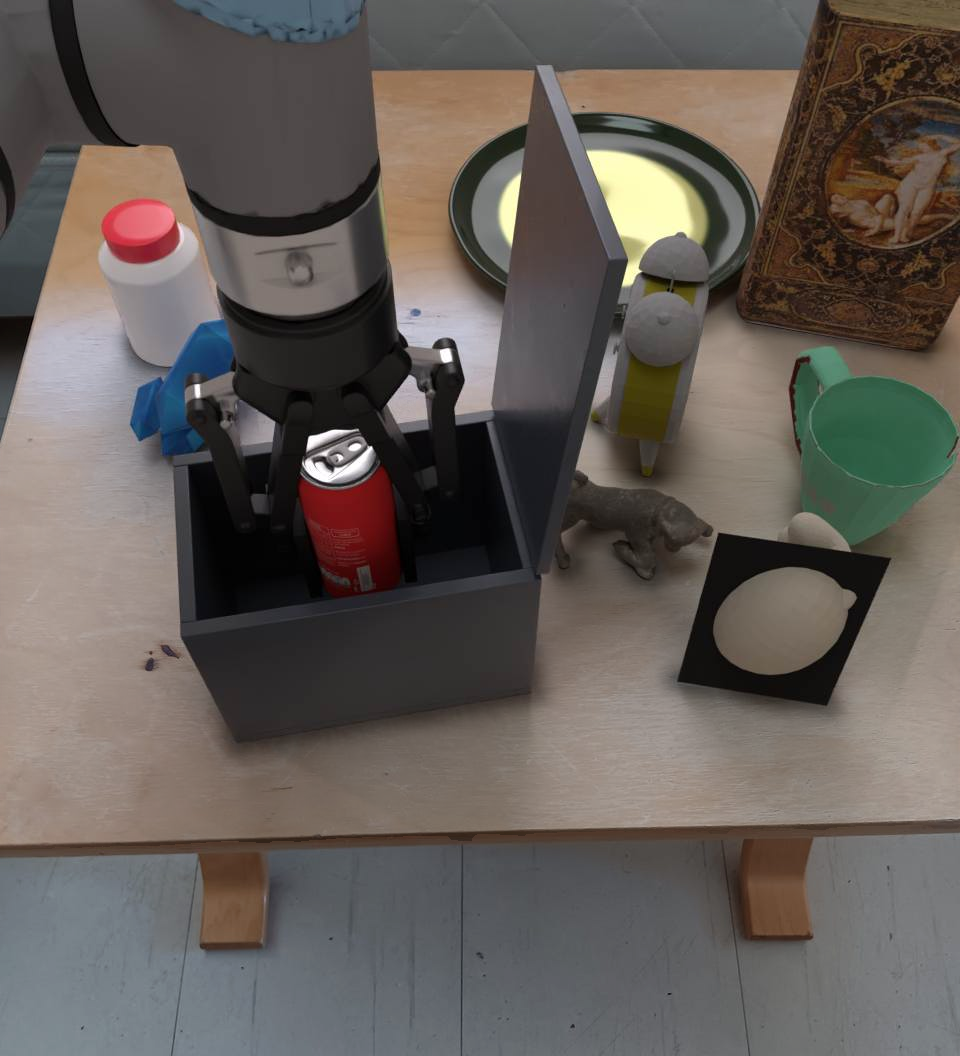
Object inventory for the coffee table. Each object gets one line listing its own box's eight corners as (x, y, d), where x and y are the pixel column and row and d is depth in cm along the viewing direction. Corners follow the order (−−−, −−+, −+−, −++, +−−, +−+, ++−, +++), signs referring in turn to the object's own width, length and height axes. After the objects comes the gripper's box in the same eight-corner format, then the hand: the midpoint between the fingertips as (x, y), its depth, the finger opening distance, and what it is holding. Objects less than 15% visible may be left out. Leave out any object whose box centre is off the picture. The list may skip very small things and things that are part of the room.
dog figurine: (534, 562, 72) (539, 499, 66) (552, 501, 75) (559, 434, 68) (697, 599, 70) (719, 538, 64) (710, 536, 73) (732, 471, 67)
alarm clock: (664, 489, 75) (703, 339, 62) (576, 473, 76) (596, 322, 63) (684, 380, 81) (723, 221, 68) (602, 366, 82) (625, 206, 69)
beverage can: (306, 574, 63) (270, 448, 52) (372, 532, 64) (349, 401, 54) (353, 628, 61) (326, 508, 50) (420, 583, 62) (407, 458, 52)
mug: (929, 555, 72) (990, 466, 64) (808, 590, 71) (853, 504, 62) (833, 412, 79) (876, 314, 71) (721, 441, 78) (751, 344, 69)
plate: (752, 354, 82) (759, 331, 80) (422, 317, 85) (421, 294, 82) (758, 148, 96) (765, 124, 94) (475, 121, 98) (475, 96, 96)
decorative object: (680, 609, 72) (819, 630, 72) (675, 712, 65) (830, 737, 64) (718, 462, 64) (877, 484, 63) (717, 562, 56) (897, 589, 55)
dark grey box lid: (608, 260, 37) (629, 259, 37) (535, 64, 43) (552, 64, 43) (535, 575, 54) (549, 574, 54) (490, 403, 61) (503, 402, 61)
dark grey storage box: (236, 743, 65) (180, 637, 53) (224, 582, 71) (172, 455, 59) (531, 692, 67) (542, 579, 55) (494, 540, 73) (497, 408, 61)
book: (732, 319, 84) (818, 12, 63) (739, 277, 87) (825, -32, 65) (929, 354, 82) (1089, 48, 61) (931, 309, 85) (1085, 1, 63)
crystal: (86, 401, 71) (177, 271, 74) (139, 459, 79) (219, 341, 82) (170, 439, 69) (259, 305, 72) (215, 495, 77) (294, 373, 80)
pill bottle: (192, 289, 86) (156, 175, 77) (240, 338, 83) (209, 225, 74) (113, 329, 84) (66, 217, 74) (160, 381, 81) (117, 271, 71)
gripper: (82, 359, 39) (218, 647, 59) (531, 297, 41) (516, 598, 61) (83, 235, 43) (212, 546, 63) (496, 183, 45) (492, 503, 65)
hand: (361, 571), depth 62 cm, fingers closed on beverage can, 5 cm apart
